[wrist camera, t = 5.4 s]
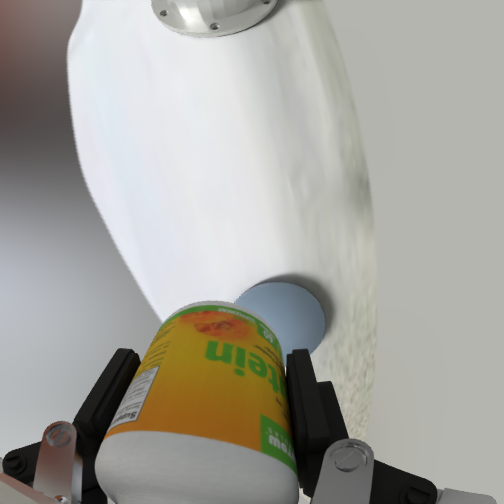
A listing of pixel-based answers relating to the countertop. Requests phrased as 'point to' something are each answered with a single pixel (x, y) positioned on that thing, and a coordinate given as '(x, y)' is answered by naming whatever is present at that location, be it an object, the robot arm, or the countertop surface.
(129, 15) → the countertop surface
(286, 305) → the pale blue round plate
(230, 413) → the supplement bottle
